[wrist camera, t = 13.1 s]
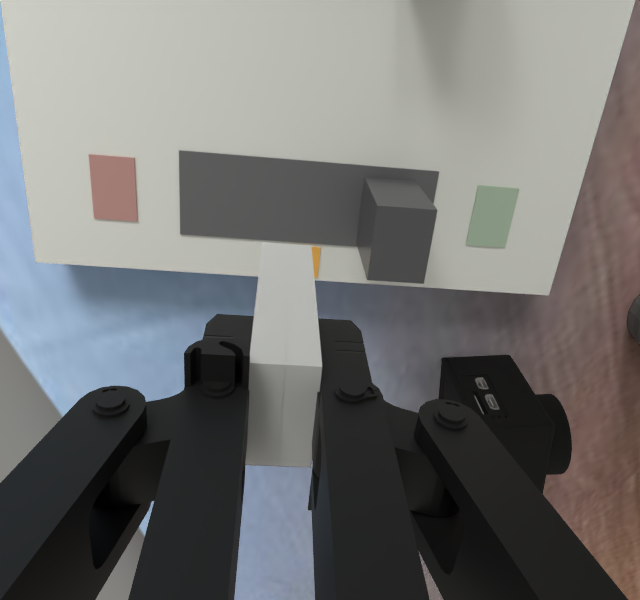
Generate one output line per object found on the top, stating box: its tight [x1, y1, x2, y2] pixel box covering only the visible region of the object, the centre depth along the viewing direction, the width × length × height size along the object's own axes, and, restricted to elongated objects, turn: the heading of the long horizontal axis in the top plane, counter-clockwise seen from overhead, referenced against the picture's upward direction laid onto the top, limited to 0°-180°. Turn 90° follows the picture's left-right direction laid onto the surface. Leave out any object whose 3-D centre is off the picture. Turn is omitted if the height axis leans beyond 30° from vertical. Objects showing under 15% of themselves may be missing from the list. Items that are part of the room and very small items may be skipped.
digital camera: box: [439, 355, 572, 494], centre depth 35 cm, size 10×5×7 cm, turn 2°
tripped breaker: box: [356, 177, 438, 284], centre depth 25 cm, size 3×2×4 cm
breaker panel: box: [0, 0, 635, 295], centre depth 26 cm, size 20×26×3 cm
